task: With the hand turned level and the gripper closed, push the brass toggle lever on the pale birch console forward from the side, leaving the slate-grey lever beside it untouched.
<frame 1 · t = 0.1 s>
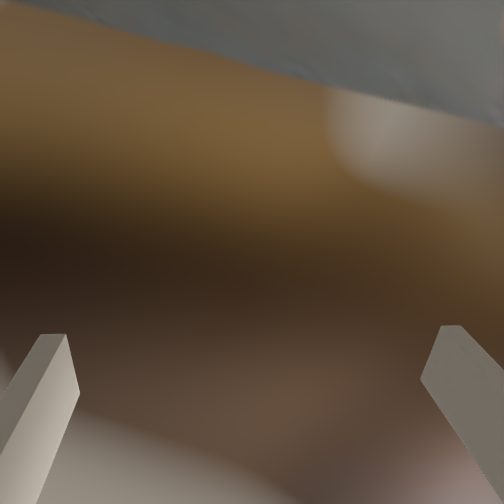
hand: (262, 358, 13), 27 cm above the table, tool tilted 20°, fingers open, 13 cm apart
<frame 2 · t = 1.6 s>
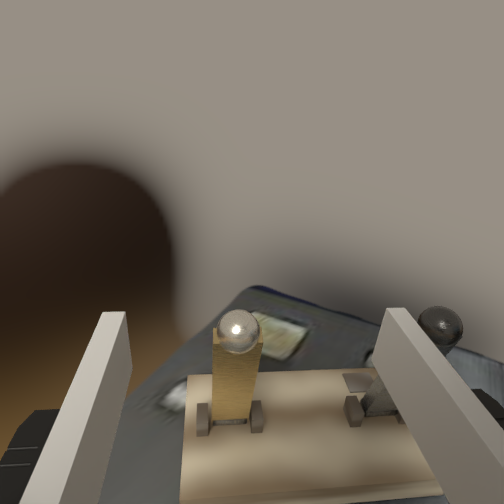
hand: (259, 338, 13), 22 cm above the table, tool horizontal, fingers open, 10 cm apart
console: (300, 437, 34), on the table
lever brass: (233, 378, 27), point 10 cm above the table, hinge at -15.0°
lever slate: (405, 370, 28), point 10 cm above the table, hinge at -15.0°
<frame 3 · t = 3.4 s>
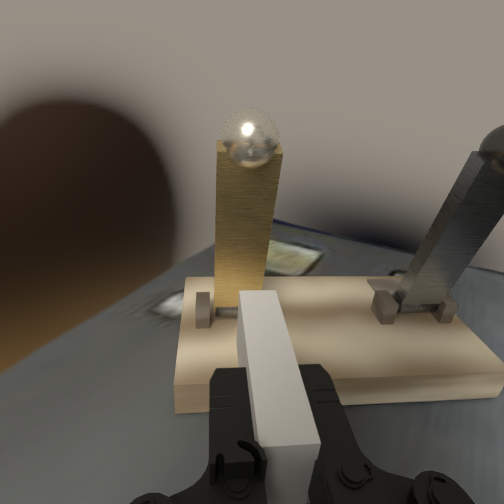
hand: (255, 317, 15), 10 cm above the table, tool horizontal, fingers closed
console: (320, 342, 28), on the table
lever brass: (241, 235, 21), point 10 cm above the table, hinge at -15.0°
lever slate: (455, 237, 23), point 10 cm above the table, hinge at -15.0°
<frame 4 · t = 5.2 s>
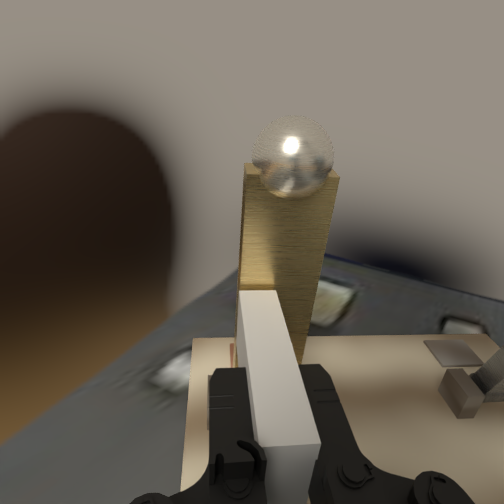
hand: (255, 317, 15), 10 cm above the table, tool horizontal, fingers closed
console: (371, 434, 21), on the table
lever brass: (274, 296, 15), point 10 cm above the table, hinge at -3.8°, touching gripper
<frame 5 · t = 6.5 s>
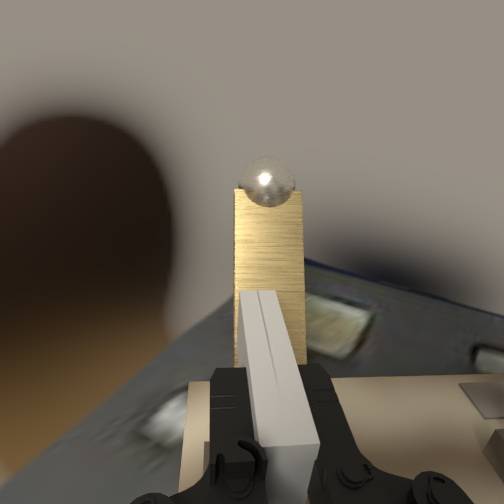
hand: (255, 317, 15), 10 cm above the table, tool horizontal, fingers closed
lever brass: (268, 311, 16), point 9 cm above the table, hinge at 36.7°, touching gripper
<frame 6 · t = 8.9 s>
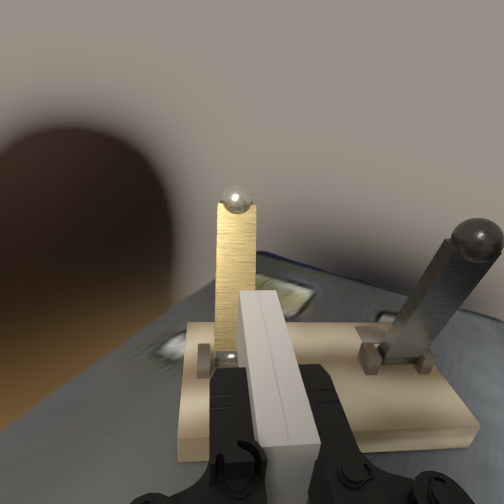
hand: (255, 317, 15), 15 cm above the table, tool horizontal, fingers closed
console: (310, 388, 31), on the table
lever brass: (235, 273, 29), point 9 cm above the table, hinge at 34.0°
lever slate: (431, 304, 26), point 10 cm above the table, hinge at -15.0°
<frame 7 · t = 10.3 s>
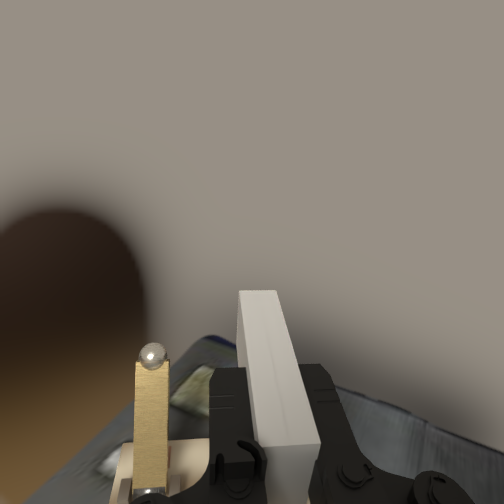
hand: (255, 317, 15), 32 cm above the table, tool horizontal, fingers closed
lever brass: (151, 418, 35), point 9 cm above the table, hinge at 34.0°
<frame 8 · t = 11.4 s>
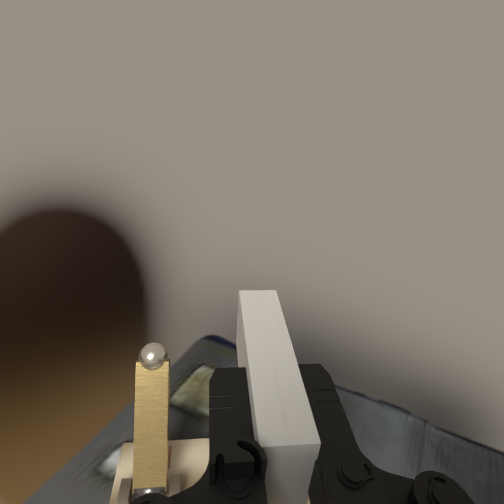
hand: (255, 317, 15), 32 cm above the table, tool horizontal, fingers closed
lever brass: (152, 418, 35), point 9 cm above the table, hinge at 34.0°
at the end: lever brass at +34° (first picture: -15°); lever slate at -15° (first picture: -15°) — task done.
